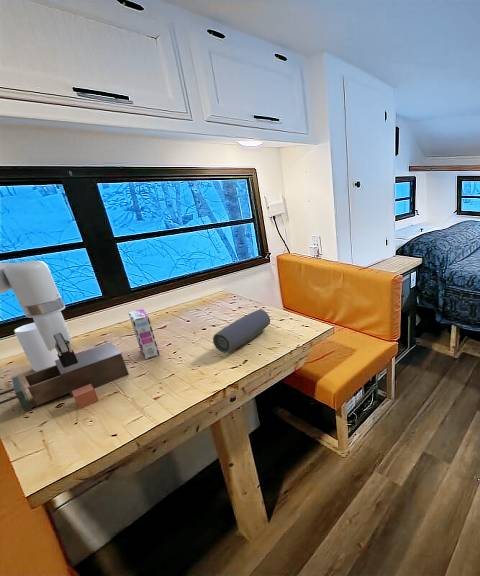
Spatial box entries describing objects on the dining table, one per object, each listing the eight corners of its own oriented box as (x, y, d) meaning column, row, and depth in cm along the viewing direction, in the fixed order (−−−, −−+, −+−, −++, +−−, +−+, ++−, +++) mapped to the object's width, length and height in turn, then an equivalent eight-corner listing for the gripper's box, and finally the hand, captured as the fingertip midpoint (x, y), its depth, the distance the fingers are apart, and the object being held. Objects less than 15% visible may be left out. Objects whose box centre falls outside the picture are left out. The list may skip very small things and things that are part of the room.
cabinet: (71, 397, 95) (60, 374, 92) (64, 382, 102) (54, 360, 99) (128, 374, 106) (121, 353, 103) (118, 362, 113) (111, 342, 110)
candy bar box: (161, 355, 117) (148, 316, 112) (145, 360, 114) (131, 321, 108) (155, 344, 125) (143, 308, 119) (140, 349, 121) (127, 312, 116)
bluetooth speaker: (256, 327, 137) (252, 307, 134) (273, 330, 134) (269, 309, 131) (214, 353, 117) (208, 330, 114) (233, 357, 114) (228, 334, 111)
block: (79, 409, 90) (74, 397, 89) (76, 402, 93) (71, 391, 91) (99, 400, 93) (94, 389, 92) (95, 395, 96) (90, 383, 94)
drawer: (-14, 427, 83) (-26, 407, 81) (-15, 409, 90) (-26, 390, 87) (87, 387, 98) (79, 369, 96) (79, 374, 105) (72, 357, 102)
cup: (49, 371, 108) (30, 331, 103) (26, 372, 108) (6, 332, 103) (71, 358, 116) (55, 321, 111) (50, 359, 116) (32, 321, 111)
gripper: (20, 305, 84) (48, 362, 90) (26, 318, 75) (56, 380, 81) (58, 296, 89) (82, 350, 95) (68, 308, 80) (93, 367, 87)
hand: (70, 364), depth 88 cm, fingers closed
